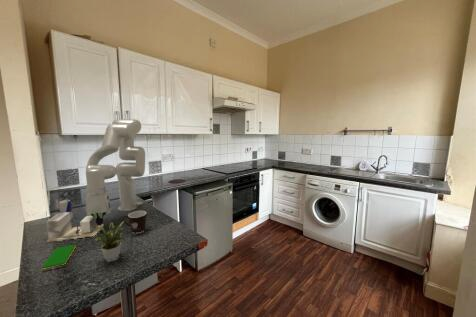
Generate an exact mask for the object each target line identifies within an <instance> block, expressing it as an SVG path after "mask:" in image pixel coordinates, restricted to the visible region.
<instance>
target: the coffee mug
mask: <svg viewBox="0 0 476 317" xmlns="http://www.w3.org/2000/svg"><path fill="white" fill-rule="evenodd" d="M125 218H127V219H128V220H129V223H127V222H126V221H125ZM121 220H122V222H123V221H125V222H124V223H123V224H125V225H126V226H128V227H130V231H131V233H132V232H135V233H136V232H141V231H143V230H145V231H146V226H147V224H146V223H147V211H145V210H136V211H131V213H128V215H125V216H123V217H122V219H121Z"/></svg>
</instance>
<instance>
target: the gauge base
mask: <svg viewBox="0 0 476 317" xmlns="http://www.w3.org/2000/svg"><path fill="white" fill-rule="evenodd" d="M99 226H100V225H99ZM99 226H96V227H95V228H94V229H95V230H97V231H99V232H101V231H102V230H101V228H99ZM101 226H103V227H104V223H102V225H101ZM101 226H100V227H101ZM46 229H47V236H48V239H47V240H46V243H47V242H48V243H55V242H54V241H57V242H64V241H63V240H65V241H71V240H70V239H74V240H78V239H77V238H83V239H86V238H85V237H92V236H95V235H96V234H97V233H98V232H97V231H95V230H93V231H92V232H87V233H81V234H79V235H78V234H76V231H77V226H74V227H72V220H71V219H70V212H65V213H60V212H58V213H57V214H55V215H54V216H52V217H51V218H49V219H48V220H47V221H46ZM78 230H81V226H78ZM98 234H99V233H98ZM98 234H97V235H98ZM97 235H96V236H97ZM96 236H95V237H96ZM92 238H93V237H92Z"/></svg>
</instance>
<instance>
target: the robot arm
mask: <svg viewBox="0 0 476 317" xmlns="http://www.w3.org/2000/svg"><path fill="white" fill-rule="evenodd" d="M141 130H142V123H141V121H139V120H138V119H132V118H131V119H129V118H128V119H127V118H118V119H114V120H112V122H111V124H108V125H107V127H106V129H105V133H104V136H103V140H102V144H101V146H100V147H99V148H98V149H96V150H95V151H94V152H93V153H92V154H91V155H90V157H89V158H88V160H87V163H86V168H85V179H86V188H87V189H86V190H87V194H86V196H85V197H86V198H85V212H86V216H93V217H94V218H95V219H96V224H97V226H99V225H102V224H104V216H105V215H109V214H110V213H111V208H112V207H111V206H112V204H111V200H110V196H109V193H108V192H109V188H107V186H106V183H105V180H109V179H110V180H111V179H113V178H114V177H115V176H116V177H117V181H118V182H117V184H118V195H119V206H118V207H117V210H118V211H120V212H129V211H130V212H131V211H133V210H136V209H138V208H139V206H141V205H143V201H142V200H140V201H139V200H138V199H137V197H136V186H135V185H136V183H135V180H134V177H135V178H139V177H143V176H144V175H145V172H146V169H145V168H146V151H145V149H144V147H143V146H135V139H134V137H135V136H136V135H137V134H138V133H139V132H141ZM117 152H118V153H119V154H118V157H119V159H120V160H121V161H124V162H119V163H118V164H117V165H116V166H114V165H111V164H99V163H100V162H101V160H103V159H104V158H105V157H107V156H109V155H113V154H114V153H117ZM125 161H130V162H125ZM132 161H135V162H132Z"/></svg>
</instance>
